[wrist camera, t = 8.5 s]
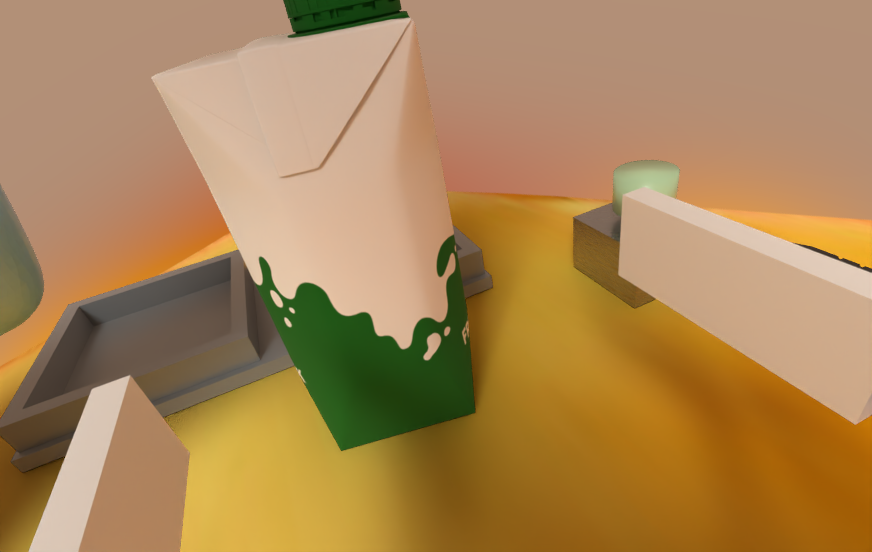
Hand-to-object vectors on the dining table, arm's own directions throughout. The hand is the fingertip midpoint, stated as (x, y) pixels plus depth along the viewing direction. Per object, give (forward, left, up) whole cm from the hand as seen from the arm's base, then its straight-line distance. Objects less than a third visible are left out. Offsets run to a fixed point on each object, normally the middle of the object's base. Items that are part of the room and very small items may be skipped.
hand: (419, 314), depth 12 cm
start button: (+18, +11, -7) cm, 22 cm away
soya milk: (0, +10, -12) cm, 15 cm away
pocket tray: (-6, +22, -12) cm, 26 cm away
